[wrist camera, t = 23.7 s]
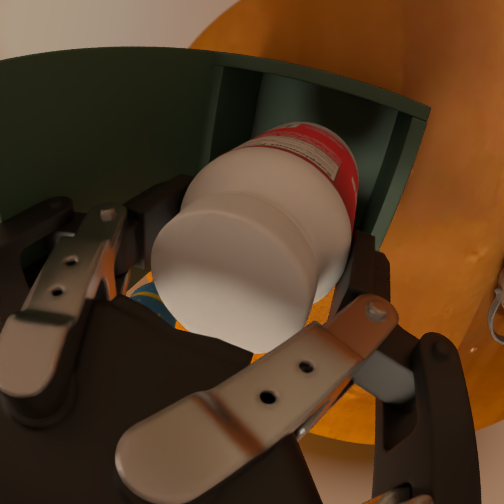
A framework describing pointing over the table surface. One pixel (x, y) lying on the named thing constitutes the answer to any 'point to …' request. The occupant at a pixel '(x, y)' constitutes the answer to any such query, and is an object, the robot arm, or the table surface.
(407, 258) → the table surface
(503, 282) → the alarm clock
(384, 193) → the chest
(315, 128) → the pill bottle
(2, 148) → the lid
